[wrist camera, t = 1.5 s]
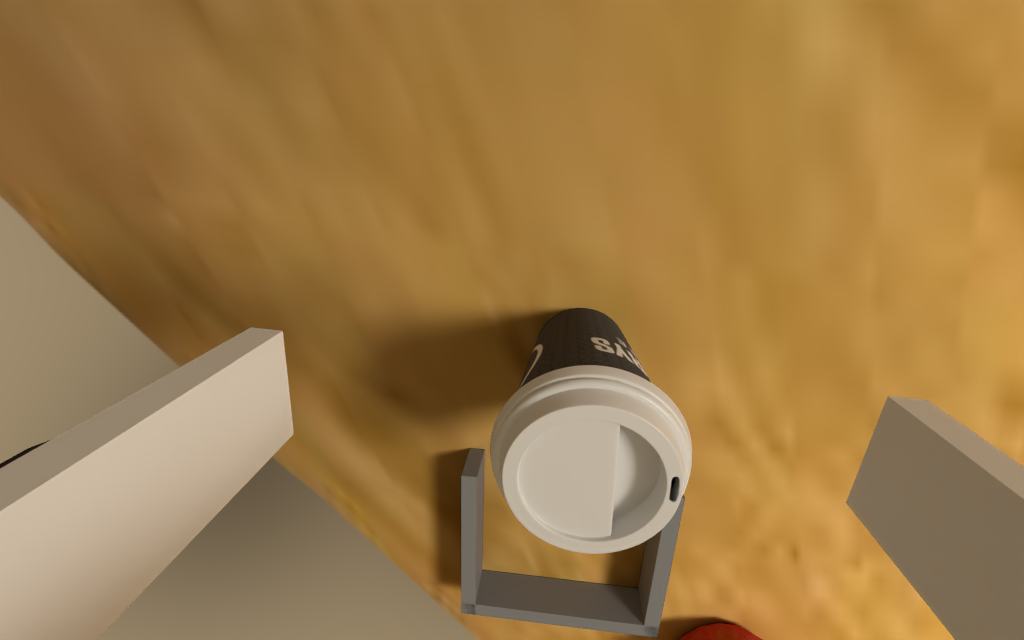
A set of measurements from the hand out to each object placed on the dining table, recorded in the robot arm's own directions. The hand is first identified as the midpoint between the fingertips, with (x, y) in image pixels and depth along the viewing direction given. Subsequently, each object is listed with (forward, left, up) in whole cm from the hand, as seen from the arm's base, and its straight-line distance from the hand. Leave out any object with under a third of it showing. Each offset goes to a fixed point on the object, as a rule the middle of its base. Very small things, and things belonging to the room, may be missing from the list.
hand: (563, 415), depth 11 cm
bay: (+24, +2, -23) cm, 33 cm away
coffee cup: (+8, +2, -23) cm, 25 cm away
